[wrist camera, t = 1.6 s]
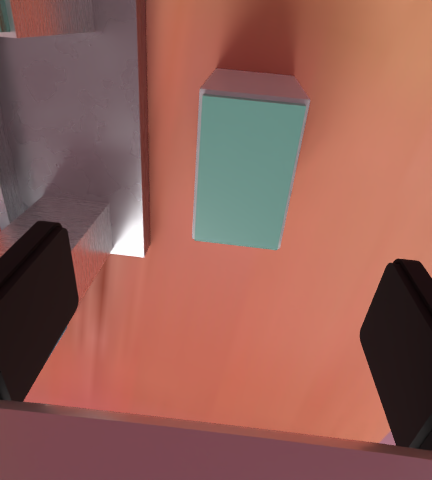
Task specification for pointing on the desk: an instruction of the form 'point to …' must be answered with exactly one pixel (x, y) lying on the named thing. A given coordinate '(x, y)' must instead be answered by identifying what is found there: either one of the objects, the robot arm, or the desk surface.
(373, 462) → the robot arm
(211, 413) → the desk surface
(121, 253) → the rail
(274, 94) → the block
